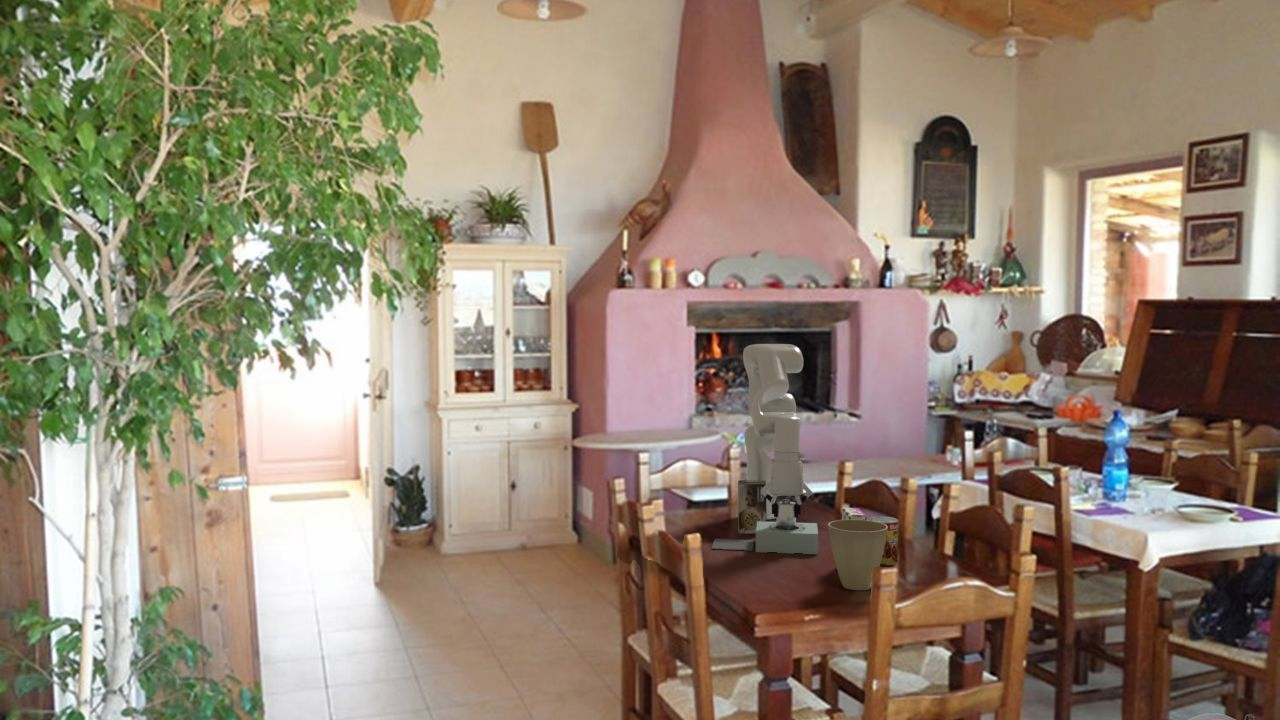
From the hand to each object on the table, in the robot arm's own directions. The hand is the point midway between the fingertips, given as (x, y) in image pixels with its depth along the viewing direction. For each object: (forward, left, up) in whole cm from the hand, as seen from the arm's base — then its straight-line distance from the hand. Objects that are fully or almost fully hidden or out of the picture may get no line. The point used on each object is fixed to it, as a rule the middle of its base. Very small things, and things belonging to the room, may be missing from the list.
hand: (786, 516), depth 285 cm
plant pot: (+38, +18, -10) cm, 44 cm away
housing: (0, 0, -9) cm, 9 cm away
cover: (0, 0, -5) cm, 5 cm away
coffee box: (-19, -11, -10) cm, 24 cm away
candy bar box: (+23, +18, -10) cm, 31 cm away
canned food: (+12, +27, -10) cm, 31 cm away
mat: (0, -16, -9) cm, 18 cm away
